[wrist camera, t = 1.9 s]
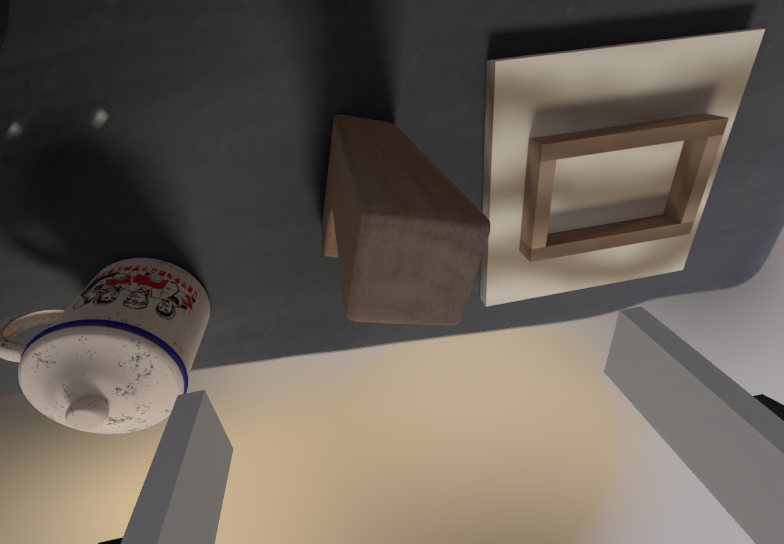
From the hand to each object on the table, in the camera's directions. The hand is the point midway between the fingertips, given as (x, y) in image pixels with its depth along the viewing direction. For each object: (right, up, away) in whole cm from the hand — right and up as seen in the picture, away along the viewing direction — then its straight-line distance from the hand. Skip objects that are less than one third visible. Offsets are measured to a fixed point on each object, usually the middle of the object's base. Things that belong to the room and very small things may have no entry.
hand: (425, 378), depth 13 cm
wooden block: (-4, +10, +17) cm, 21 cm away
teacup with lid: (-22, +1, +19) cm, 29 cm away
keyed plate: (+16, +11, +21) cm, 29 cm away
